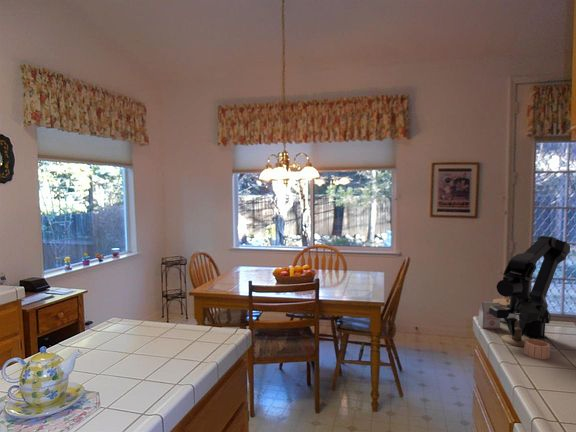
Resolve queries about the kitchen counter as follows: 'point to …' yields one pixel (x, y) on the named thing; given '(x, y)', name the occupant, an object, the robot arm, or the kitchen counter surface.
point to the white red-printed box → (488, 316)
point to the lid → (515, 338)
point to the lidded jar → (504, 305)
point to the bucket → (537, 348)
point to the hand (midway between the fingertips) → (516, 335)
